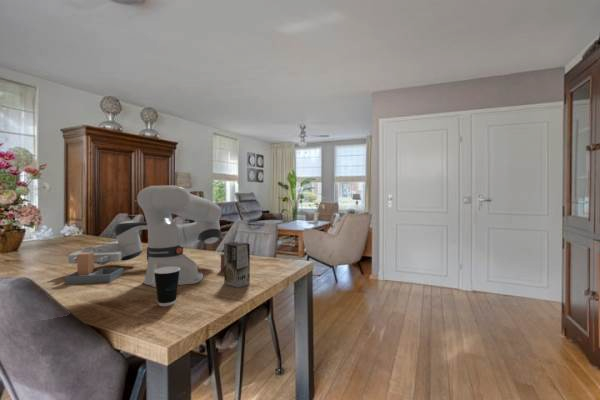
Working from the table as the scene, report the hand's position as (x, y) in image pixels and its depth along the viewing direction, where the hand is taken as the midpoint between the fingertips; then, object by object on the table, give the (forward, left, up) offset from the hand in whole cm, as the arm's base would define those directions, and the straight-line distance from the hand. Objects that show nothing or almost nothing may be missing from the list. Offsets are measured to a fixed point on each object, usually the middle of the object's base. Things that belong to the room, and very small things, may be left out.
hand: (86, 261), depth 120 cm
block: (0, +1, -7) cm, 7 cm away
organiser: (-4, +1, -7) cm, 8 cm away
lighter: (-57, -4, -8) cm, 58 cm away
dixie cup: (-41, +35, -8) cm, 55 cm away
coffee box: (-62, +17, -8) cm, 65 cm away
